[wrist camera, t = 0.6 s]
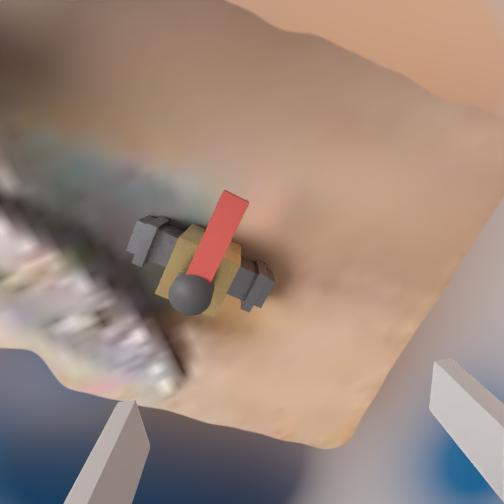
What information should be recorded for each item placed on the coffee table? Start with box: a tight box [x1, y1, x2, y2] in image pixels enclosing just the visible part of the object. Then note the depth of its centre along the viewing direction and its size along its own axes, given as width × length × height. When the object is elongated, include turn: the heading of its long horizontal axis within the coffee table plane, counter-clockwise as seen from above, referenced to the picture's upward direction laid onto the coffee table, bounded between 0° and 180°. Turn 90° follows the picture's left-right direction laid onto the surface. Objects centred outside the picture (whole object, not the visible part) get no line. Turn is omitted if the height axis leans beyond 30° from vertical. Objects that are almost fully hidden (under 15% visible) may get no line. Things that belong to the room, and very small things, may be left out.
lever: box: [168, 190, 249, 315], centre depth 24 cm, size 12×4×2 cm, turn 154°
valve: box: [126, 215, 275, 318], centre depth 31 cm, size 18×7×10 cm, turn 64°
